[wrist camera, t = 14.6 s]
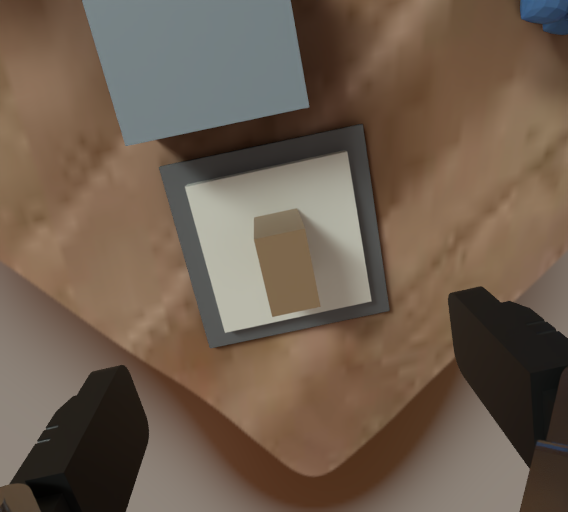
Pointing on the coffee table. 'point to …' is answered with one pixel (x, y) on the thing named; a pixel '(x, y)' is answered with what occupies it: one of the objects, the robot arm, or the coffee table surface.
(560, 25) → the grapes
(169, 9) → the storage box
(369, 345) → the coffee table surface
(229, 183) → the lid
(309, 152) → the rubber mat
